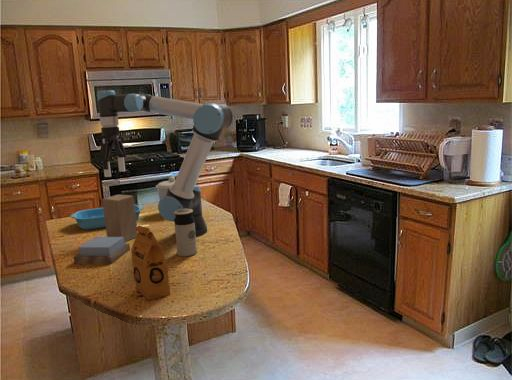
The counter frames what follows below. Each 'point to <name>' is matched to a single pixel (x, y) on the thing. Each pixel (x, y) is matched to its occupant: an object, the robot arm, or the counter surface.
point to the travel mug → (185, 232)
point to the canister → (164, 187)
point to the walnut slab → (102, 257)
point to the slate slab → (101, 246)
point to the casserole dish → (96, 217)
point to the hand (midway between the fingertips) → (115, 174)
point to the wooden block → (120, 216)
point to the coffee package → (149, 265)
